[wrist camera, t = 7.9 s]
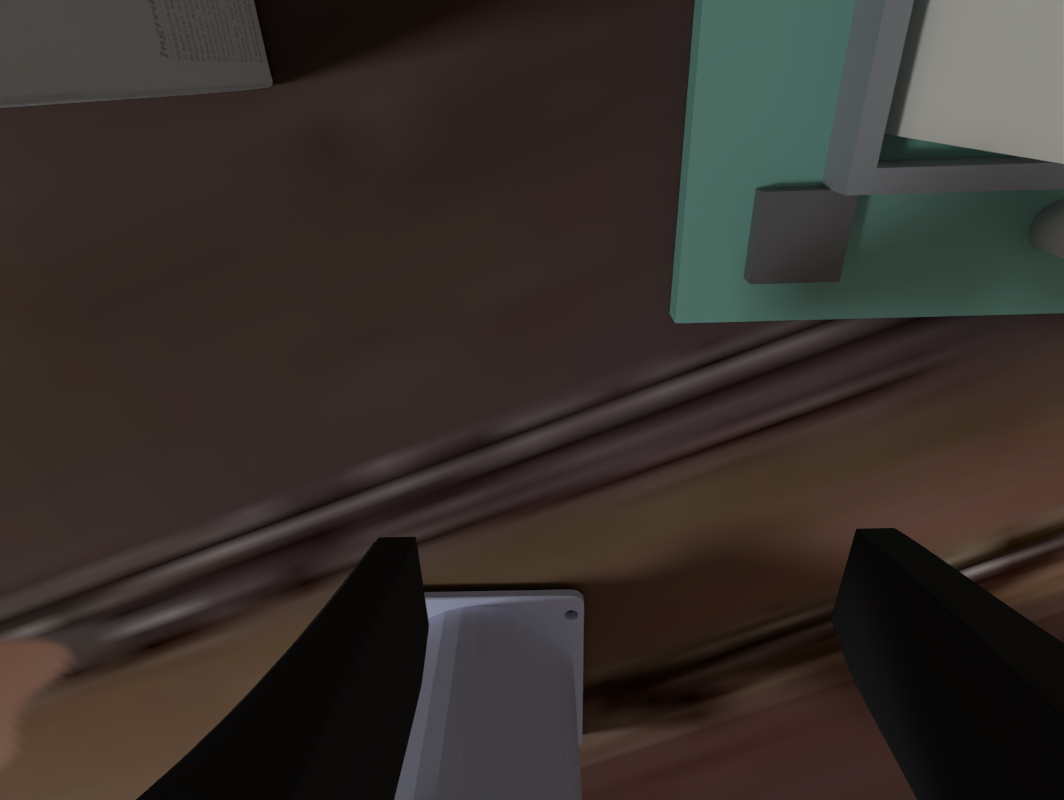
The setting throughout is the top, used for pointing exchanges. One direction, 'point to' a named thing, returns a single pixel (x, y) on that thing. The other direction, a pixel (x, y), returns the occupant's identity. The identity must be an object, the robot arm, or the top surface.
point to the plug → (983, 77)
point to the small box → (127, 49)
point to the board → (843, 182)
